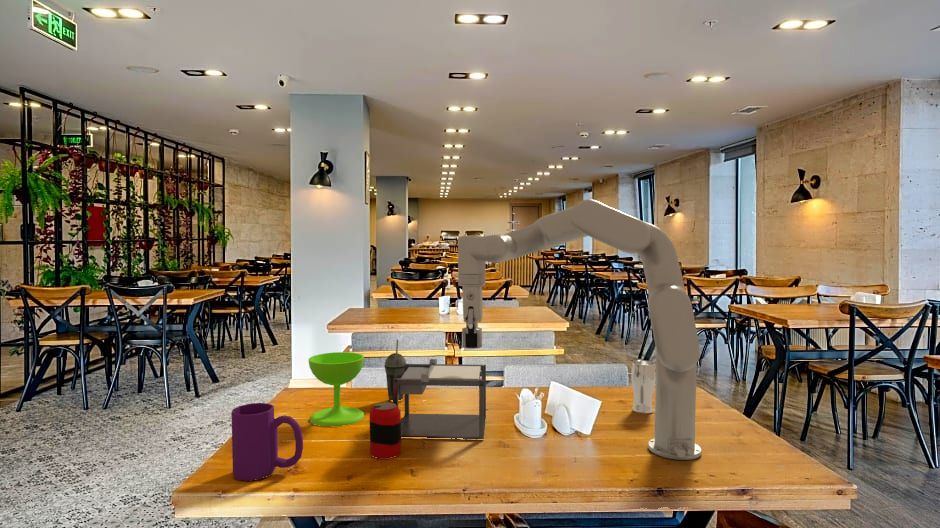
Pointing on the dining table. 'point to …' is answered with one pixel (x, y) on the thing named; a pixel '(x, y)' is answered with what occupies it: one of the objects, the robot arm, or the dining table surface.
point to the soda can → (385, 430)
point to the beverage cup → (394, 371)
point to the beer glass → (643, 385)
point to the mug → (259, 441)
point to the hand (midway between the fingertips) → (472, 344)
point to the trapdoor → (437, 375)
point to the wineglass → (336, 385)
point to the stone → (479, 337)
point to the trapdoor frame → (442, 423)
